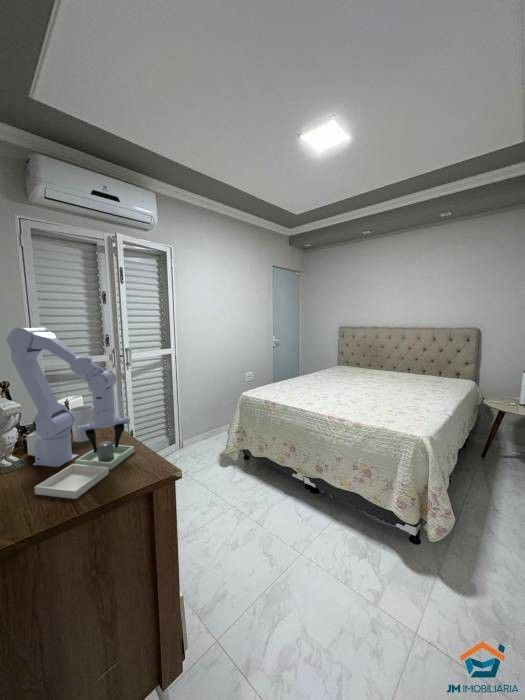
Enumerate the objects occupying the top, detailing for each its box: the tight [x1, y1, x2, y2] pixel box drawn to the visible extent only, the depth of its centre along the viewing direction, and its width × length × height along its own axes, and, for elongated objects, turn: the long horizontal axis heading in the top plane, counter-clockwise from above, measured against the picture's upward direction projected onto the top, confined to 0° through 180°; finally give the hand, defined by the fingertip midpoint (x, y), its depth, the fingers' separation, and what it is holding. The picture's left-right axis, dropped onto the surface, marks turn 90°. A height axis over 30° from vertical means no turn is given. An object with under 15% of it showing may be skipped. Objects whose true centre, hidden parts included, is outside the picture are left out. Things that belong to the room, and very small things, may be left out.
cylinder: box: [96, 440, 114, 462], centre depth 90 cm, size 5×5×5 cm
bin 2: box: [74, 444, 135, 471], centre depth 91 cm, size 12×12×3 cm
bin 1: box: [34, 463, 110, 500], centre depth 77 cm, size 12×12×3 cm
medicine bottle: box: [26, 420, 39, 457], centre depth 96 cm, size 7×7×12 cm
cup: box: [68, 405, 94, 443], centre depth 107 cm, size 8×8×12 cm
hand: (106, 449), depth 91 cm, fingers open, 5 cm apart
